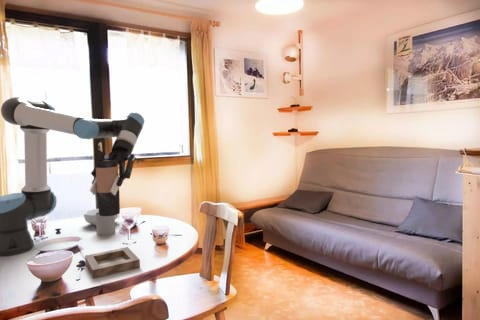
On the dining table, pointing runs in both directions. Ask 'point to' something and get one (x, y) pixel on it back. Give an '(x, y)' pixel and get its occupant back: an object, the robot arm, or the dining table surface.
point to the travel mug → (107, 187)
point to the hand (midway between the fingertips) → (102, 192)
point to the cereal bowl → (92, 216)
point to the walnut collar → (111, 262)
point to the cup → (105, 224)
